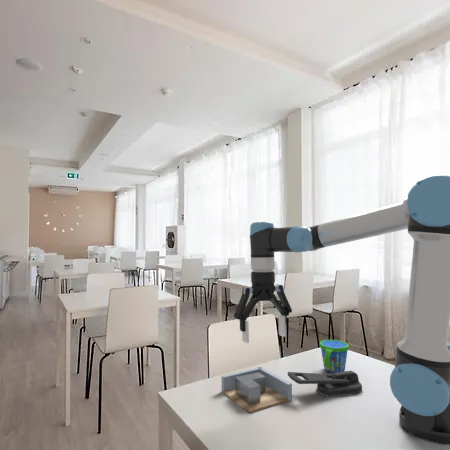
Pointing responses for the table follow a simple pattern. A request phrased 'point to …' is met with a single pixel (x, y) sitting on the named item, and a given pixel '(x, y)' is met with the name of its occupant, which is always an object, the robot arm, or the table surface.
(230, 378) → the corner walls
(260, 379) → the angle bracket
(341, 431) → the table surface
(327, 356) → the snack cup
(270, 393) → the cork mat
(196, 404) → the table surface
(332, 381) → the zipper pull
